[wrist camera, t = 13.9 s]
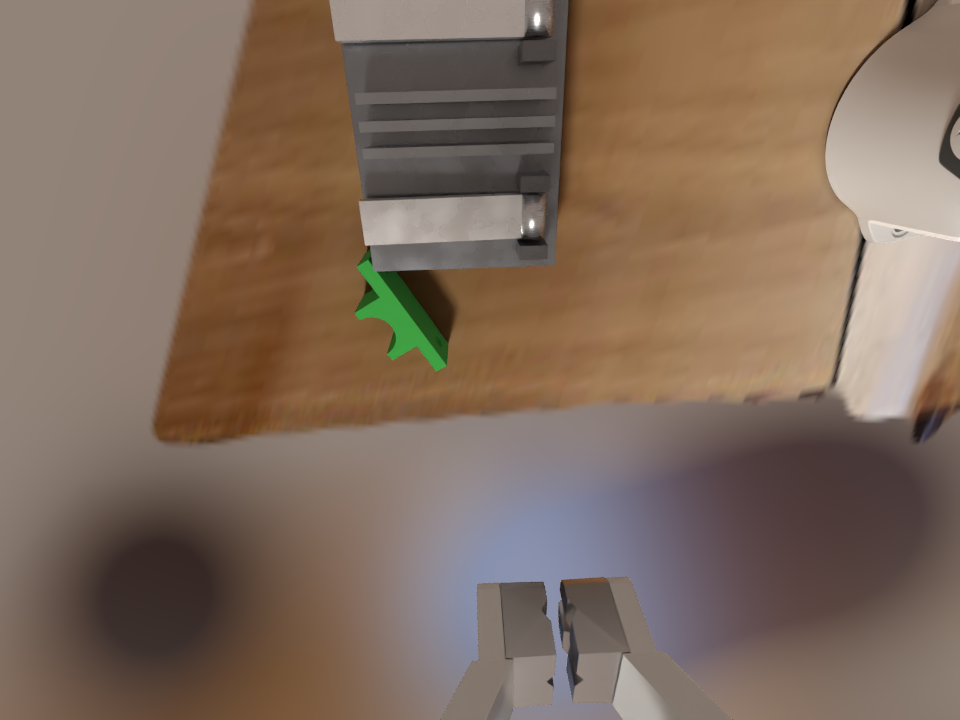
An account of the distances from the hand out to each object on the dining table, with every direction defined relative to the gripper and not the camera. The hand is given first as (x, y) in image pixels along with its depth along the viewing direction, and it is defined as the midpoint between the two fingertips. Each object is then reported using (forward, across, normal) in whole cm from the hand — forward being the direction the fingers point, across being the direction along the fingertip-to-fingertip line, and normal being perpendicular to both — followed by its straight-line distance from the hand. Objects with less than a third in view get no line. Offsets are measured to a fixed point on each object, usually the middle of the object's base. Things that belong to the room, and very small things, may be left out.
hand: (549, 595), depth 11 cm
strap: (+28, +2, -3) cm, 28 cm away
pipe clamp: (+34, +8, +6) cm, 35 cm away
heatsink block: (+33, +2, -9) cm, 34 cm away
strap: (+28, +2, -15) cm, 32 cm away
